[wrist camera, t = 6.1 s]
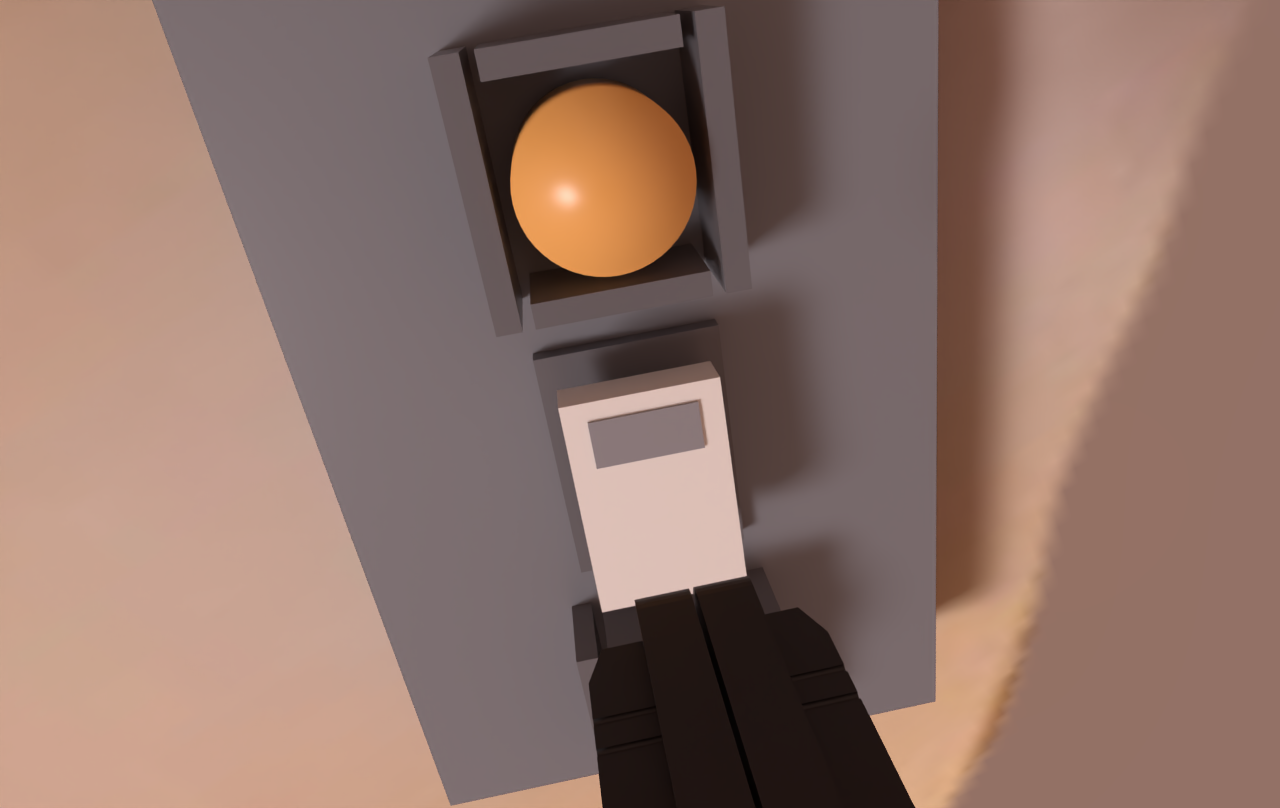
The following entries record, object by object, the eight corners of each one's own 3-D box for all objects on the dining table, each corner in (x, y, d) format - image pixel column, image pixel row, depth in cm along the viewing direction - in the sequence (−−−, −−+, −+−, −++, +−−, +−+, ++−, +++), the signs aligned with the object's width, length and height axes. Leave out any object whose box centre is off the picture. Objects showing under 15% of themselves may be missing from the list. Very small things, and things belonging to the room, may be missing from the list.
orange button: (494, 94, 15) (490, 105, 14) (666, 64, 16) (683, 71, 14) (531, 263, 17) (532, 291, 15) (688, 234, 17) (707, 258, 15)
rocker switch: (557, 390, 17) (557, 409, 16) (710, 361, 17) (720, 378, 16) (598, 586, 19) (602, 614, 18) (737, 558, 19) (748, 584, 18)
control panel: (65, -421, 14) (-142, -611, 10) (866, -536, 15) (1013, -765, 11) (457, 723, 26) (444, 871, 22) (894, 631, 27) (968, 757, 22)
